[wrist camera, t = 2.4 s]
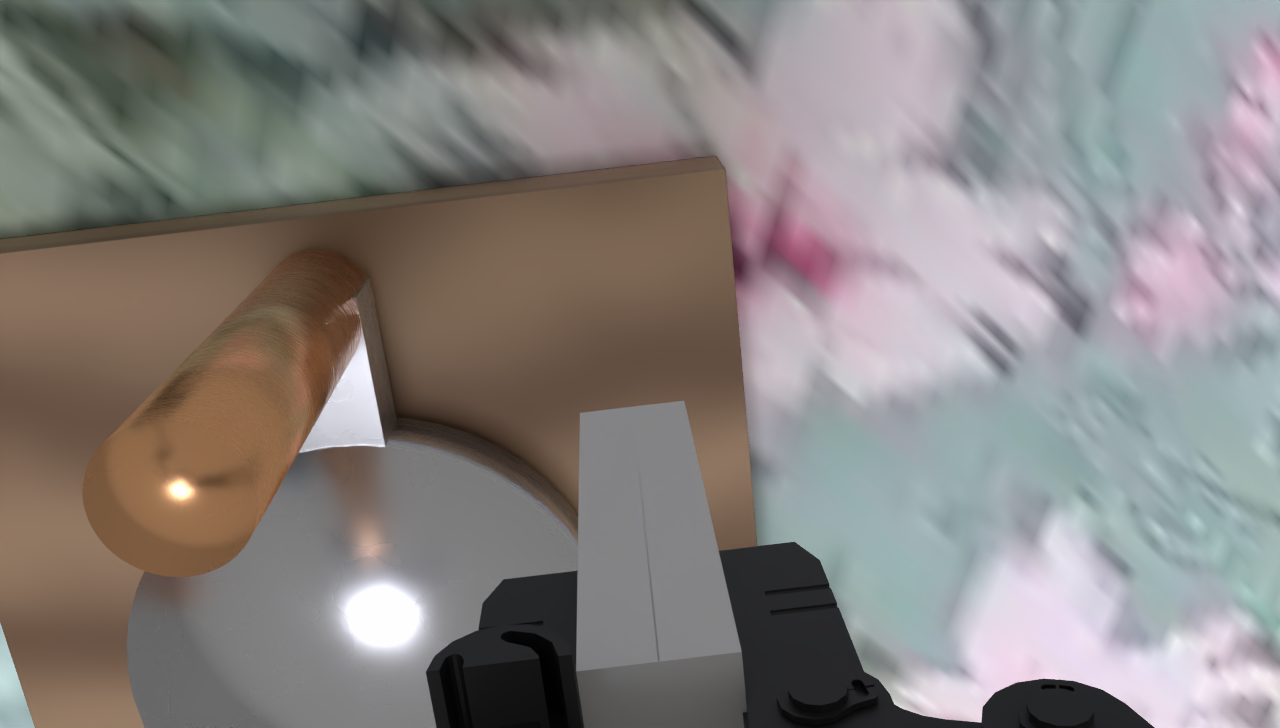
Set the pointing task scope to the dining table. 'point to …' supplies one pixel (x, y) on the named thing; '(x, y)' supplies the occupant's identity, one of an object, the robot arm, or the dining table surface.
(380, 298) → the board
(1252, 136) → the dining table surface
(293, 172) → the dining table surface
